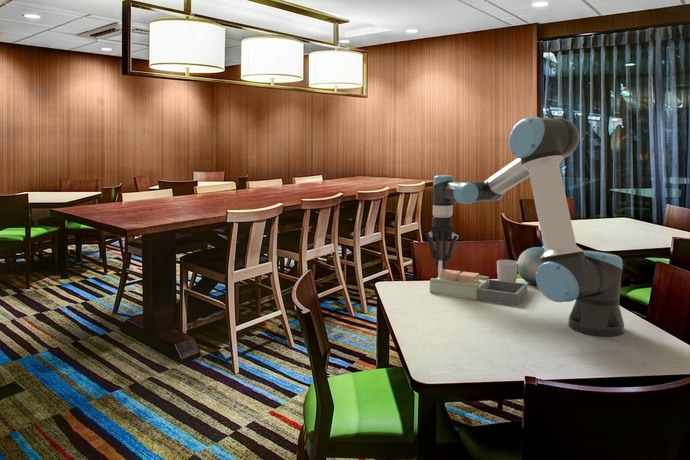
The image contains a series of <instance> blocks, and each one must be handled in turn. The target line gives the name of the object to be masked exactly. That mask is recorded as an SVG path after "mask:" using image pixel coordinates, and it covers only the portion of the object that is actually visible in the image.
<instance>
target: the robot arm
mask: <svg viewBox="0 0 690 460" xmlns="http://www.w3.org/2000/svg"><path fill="white" fill-rule="evenodd" d="M579 142H580V132H579V129H578V127H577V126H576V124H575V123H573V122H572V121H570V120H569V119H567V118H563V117H562V118H561V117H555V118H554V117H539V116H533V117H525V118H522V119H520V120H519V121H517V122H516V123H515V125H514V126H513V128H512V130H511V131H510V134H509V138H508V146H509V148H508V149H509V151H510V153H511V155H514V157H516V158H515V159H514V160H512V161H511V162H509V163H508V164H507V165H505V166H503V167H502V168H501V169H499V170H498V171H497V172H495V173H494V174H492V175H491V176H490V177H488V178H486V179H485V180H477V181H455V179H454V176H453V175H450V174H448V175H446V174H441V175H435V176H433V183H432V219H431V220H432V221H431V222H432V223H431V226H432V227H431V230H430V231H429V232H427V233H425V237H426V239H427V242H428V246H429V247H428V248H429V252H430V255H431V256H430V257H431V258H432V259H434V260H435V261H436V263H435V268H436V269H437V278H438V277H440V272H442V271H444V270H447V268H448V261H449V260H451V259H452V258H453V255H454V252H455V247H456V243H457V240H459V238H460V235H459V234H456V233H455V232H454V229H453V217H452V216H453V214H454V212H453V211H454V203H458V204H462V205H464V204H467V205H469V204H473V203H477V202H478V203H479V202H480V203H481V202H495V201H500V200H501V199H503V197H504V196H505V193H506V192H507V191H508V190H510V189H512V188H514V187H516V186H517V185H519V184H520V183H522V182H523V181H525V180H527V179H528V178H529V181H530V185H531V190H532V191H531V192H532V196H533V200H534V206H535V211H536V214H537V219H538V224H539V230H540V235H541V239H542V243H543V248H544V250H545V251H544V253H543V254H542V256H541V257H540V258H541V263H542V264H541V265H540V266H539V268H538V272H536V282H537V285H536V286H537V288H538V290H539V291H540V292H541V294H542V295H543V296H545V297H546V298H547V300H549V301H552V302H555V303H565V302H566V303H567V302H568V303H569V302H574V301H575V303H574V305H573V306H572V309H571V311H570V314H569V315H568V322H567V323H568V326H569V327H570V328H571V329H572V330H575V331H577V332H579V333H583V334H587V335H592V336H598V337H599V336H601V337H613V336H619V335H622V334H624V332H625V321H624V318H623V314H622V311H621V307H620V298H621V288H622V276H623V270H624V268H623V259H622V257H620V256H619V255H616V254H614V253H613V254H612V253H608V252H607V253H606V252H601V251H595V250H584V249H582V248H581V247H579V246H578V245H577V242H576V238H575V234H574V228H573V225H572V223H573V222H572V219H571V214H570V210H569V209H570V208H569V204H568V200H567V195H566V191H565V185H564V183H563V177H562V172H561V166H560V164H561V162H562V161H563V160H565V159H566V158H567V157H569V156H570V155H572V154H573V153H574V151H575V150H576V149H577V148H578V146H579ZM450 238H451V242H450V244H449V239H450ZM434 239H435V241H434ZM448 245H449V246H448ZM448 247H449V249H448Z"/></svg>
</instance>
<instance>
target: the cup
mask: <svg viewBox="0 0 690 460" xmlns="http://www.w3.org/2000/svg"><path fill="white" fill-rule="evenodd" d="M518 265H519V262H518V260H512V259H498V260H496V273H497V280H500V281H508V282H516V283H517V279H518V278H517V277H518V275H519V272H518Z"/></svg>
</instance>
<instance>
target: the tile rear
mask: <svg viewBox="0 0 690 460" xmlns="http://www.w3.org/2000/svg"><path fill="white" fill-rule="evenodd" d="M461 273H462V271H461V270H456V269H455V270H453V269H444V271H442V272H440V279H442V280H450V281H458V275H459V274H461Z"/></svg>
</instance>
